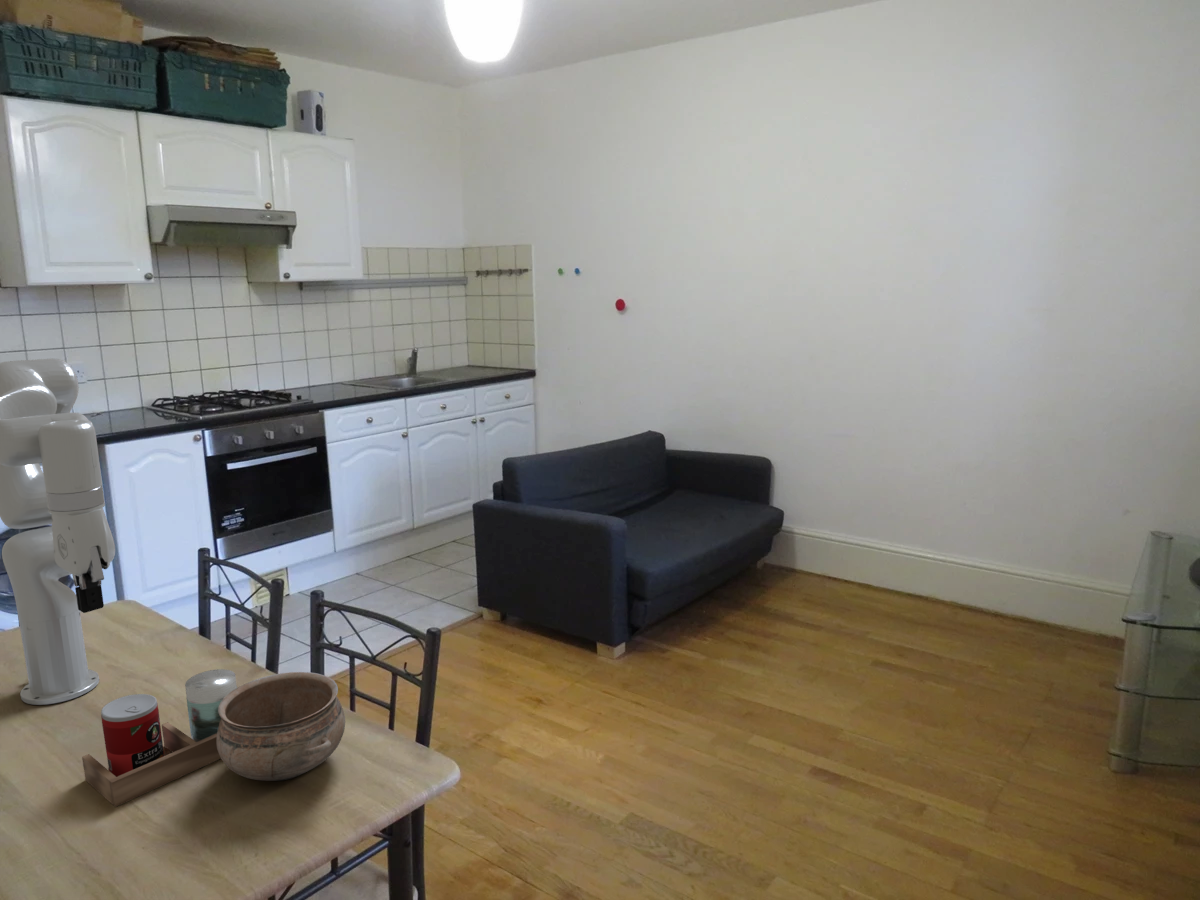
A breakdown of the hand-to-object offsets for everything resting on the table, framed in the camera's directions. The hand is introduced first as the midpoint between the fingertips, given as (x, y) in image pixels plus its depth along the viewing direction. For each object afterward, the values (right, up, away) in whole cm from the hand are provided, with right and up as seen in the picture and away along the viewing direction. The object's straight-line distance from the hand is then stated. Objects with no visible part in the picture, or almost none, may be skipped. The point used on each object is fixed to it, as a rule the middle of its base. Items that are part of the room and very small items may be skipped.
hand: (91, 608), depth 134 cm
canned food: (+8, -25, -2) cm, 27 cm away
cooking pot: (+32, -25, -2) cm, 41 cm away
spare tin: (+17, -23, +7) cm, 30 cm away
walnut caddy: (+14, -24, +2) cm, 28 cm away
